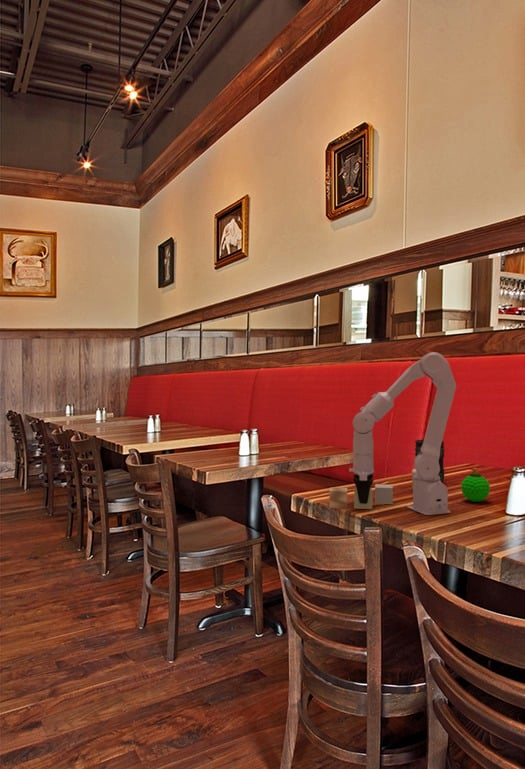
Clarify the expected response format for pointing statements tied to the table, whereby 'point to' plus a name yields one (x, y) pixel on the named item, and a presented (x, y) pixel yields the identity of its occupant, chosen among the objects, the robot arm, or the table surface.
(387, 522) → the table surface
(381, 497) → the white cube
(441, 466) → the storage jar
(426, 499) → the robot arm
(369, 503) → the sage block
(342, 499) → the birch block
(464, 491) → the ornament
